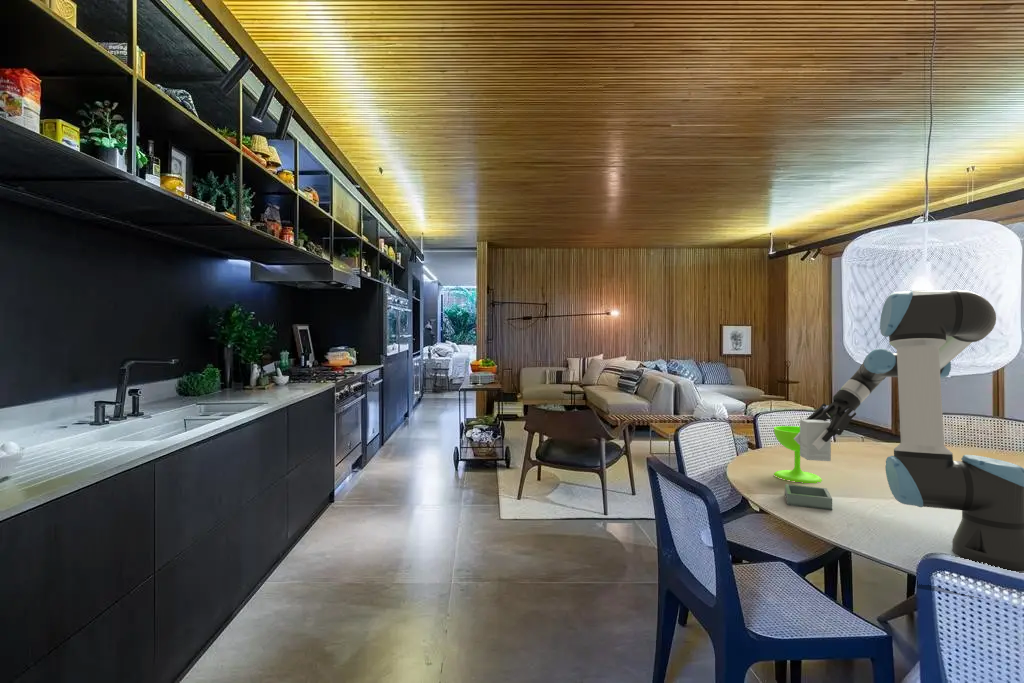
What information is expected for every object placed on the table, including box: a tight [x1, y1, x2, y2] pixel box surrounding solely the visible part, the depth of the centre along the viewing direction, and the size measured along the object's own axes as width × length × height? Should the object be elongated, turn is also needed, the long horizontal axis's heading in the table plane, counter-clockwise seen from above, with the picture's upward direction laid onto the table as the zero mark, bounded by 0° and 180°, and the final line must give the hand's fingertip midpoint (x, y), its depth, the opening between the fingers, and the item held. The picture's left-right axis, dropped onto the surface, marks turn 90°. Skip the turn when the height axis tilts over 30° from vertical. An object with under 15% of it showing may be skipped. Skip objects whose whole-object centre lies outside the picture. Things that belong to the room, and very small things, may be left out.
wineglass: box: [773, 425, 823, 484], centre depth 197 cm, size 16×16×18 cm
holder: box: [784, 483, 833, 511], centre depth 167 cm, size 12×12×4 cm
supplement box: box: [799, 419, 832, 462], centre depth 177 cm, size 7×7×13 cm
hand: (805, 444), depth 176 cm, fingers closed on supplement box, 9 cm apart
